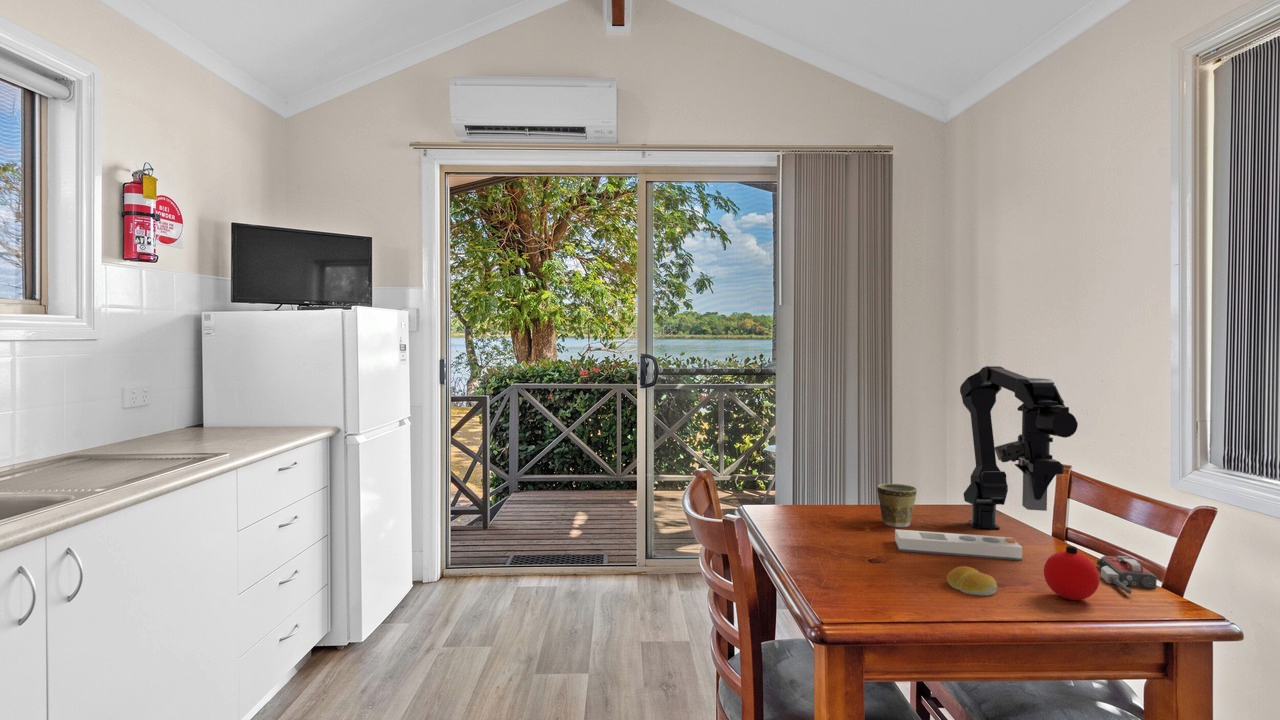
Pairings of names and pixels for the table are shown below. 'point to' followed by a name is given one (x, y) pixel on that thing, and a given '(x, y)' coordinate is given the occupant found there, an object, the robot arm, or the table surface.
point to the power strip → (958, 544)
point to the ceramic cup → (896, 503)
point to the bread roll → (972, 581)
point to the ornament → (1071, 574)
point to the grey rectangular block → (1032, 496)
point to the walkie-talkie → (1125, 573)
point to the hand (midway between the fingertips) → (1034, 497)
